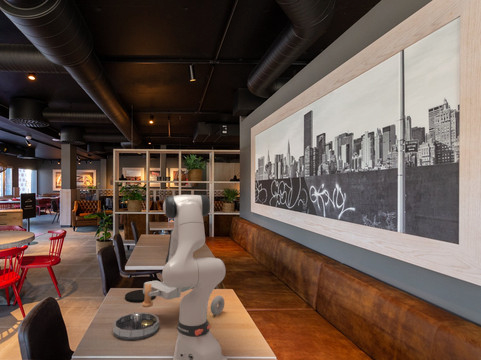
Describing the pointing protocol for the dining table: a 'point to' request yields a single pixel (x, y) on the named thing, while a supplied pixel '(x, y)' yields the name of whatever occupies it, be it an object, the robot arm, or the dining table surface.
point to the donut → (220, 302)
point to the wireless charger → (136, 296)
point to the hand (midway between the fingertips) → (146, 293)
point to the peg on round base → (147, 300)
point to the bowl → (135, 326)
